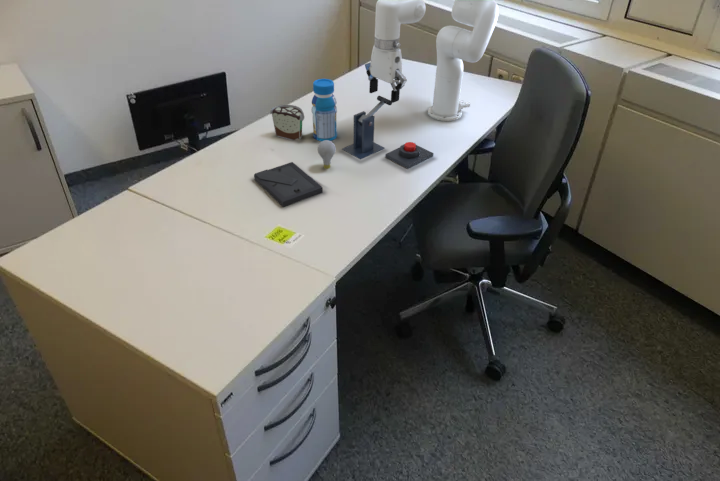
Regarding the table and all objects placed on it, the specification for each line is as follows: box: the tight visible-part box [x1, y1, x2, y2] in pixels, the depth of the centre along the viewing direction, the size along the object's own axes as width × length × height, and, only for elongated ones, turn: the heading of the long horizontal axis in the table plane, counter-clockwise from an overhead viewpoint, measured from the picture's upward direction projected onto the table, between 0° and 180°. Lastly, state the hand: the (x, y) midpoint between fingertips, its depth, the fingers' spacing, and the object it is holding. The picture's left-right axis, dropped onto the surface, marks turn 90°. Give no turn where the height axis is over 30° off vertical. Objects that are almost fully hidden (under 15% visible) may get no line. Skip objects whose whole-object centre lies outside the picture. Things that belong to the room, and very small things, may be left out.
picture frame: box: [253, 161, 324, 208], centre depth 162 cm, size 13×2×18 cm
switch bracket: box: [341, 110, 385, 160], centre depth 176 cm, size 11×9×13 cm
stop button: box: [404, 141, 417, 152], centre depth 173 cm, size 4×4×2 cm
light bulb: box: [317, 140, 337, 170], centre depth 167 cm, size 5×5×10 cm
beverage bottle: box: [311, 78, 338, 142], centre depth 181 cm, size 8×8×20 cm
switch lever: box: [358, 95, 393, 126], centre depth 174 cm, size 12×6×2 cm, turn 131°
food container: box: [269, 104, 305, 141], centre depth 185 cm, size 12×6×10 cm, turn 65°
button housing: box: [384, 143, 434, 170], centre depth 175 cm, size 12×10×4 cm
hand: (384, 96), depth 174 cm, fingers open, 9 cm apart
